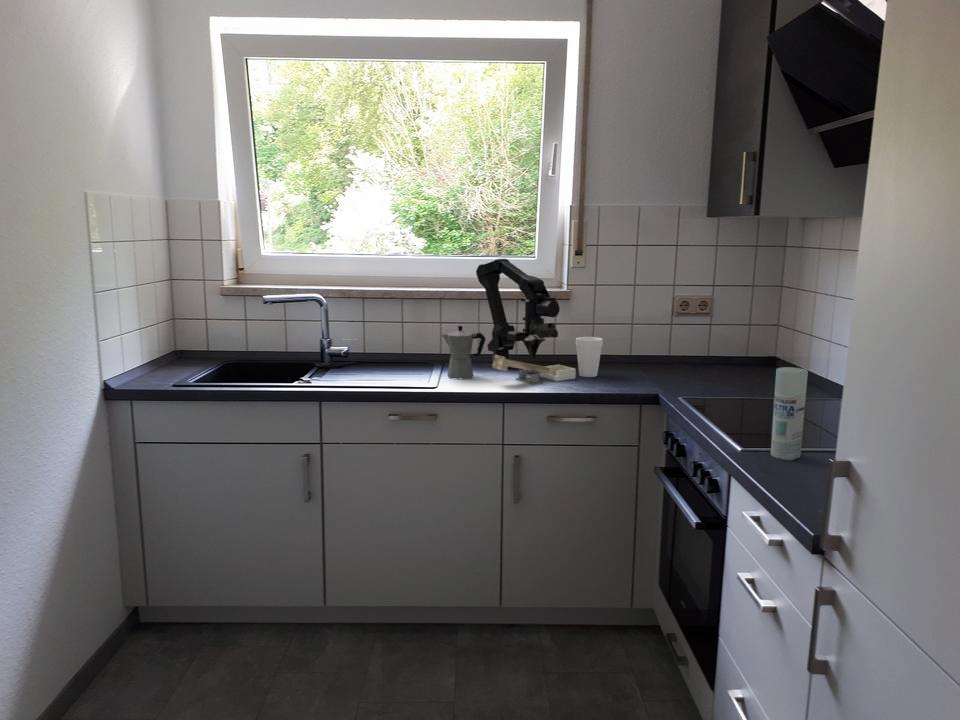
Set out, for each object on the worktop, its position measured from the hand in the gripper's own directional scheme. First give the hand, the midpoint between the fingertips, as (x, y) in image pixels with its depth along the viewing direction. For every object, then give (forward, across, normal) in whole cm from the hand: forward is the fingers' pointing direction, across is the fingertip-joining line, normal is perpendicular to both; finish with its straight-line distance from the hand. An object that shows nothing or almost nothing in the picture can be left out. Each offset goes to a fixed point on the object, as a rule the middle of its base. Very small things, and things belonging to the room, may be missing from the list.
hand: (532, 358), depth 258 cm
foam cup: (+6, +15, -13) cm, 21 cm away
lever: (+3, -11, -5) cm, 12 cm away
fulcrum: (+6, -9, -10) cm, 14 cm away
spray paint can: (+6, -9, -108) cm, 108 cm away
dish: (+6, +3, -11) cm, 12 cm away
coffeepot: (+6, -24, +9) cm, 26 cm away
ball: (+4, +4, -10) cm, 11 cm away
